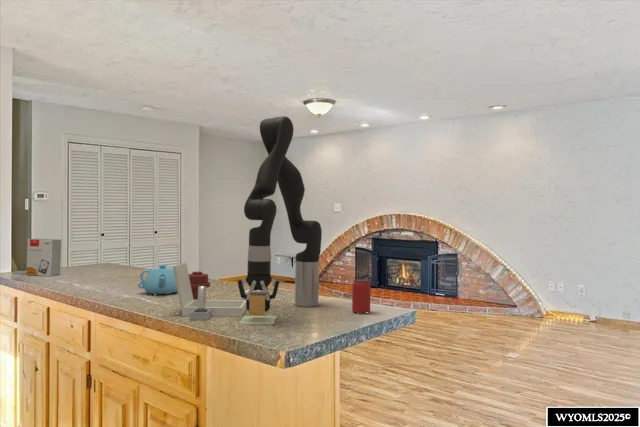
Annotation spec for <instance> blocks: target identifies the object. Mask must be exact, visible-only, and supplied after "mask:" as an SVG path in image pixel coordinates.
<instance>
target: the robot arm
mask: <svg viewBox="0 0 640 427" xmlns="http://www.w3.org/2000/svg"><path fill="white" fill-rule="evenodd" d="M259 123H260V124H259V134H260V137H261V140H262V143H263V145H264V148H265V150H266V152H267V157H266V158H265V159H264V161H263V162H262V164H261V165H260V166H259V168H258V171H257V175H256V180H255V184H254V186H253V188H252V190H251V192H250V194H249V195H248V197H247V199H246V200H245V202H244V206H243V213H244V216H245V217H246V218H247V219H248V220H250V221H262V222H261V224H260V225H259V226H256V227H255V226H254V227H252V228H250V229H249V232H248V249H247V275H246V277H245V278H243V279H241V278H239V279H238V280H237V285H238V289H239V294H240V298H241V299H242V298H244V299H246V311H248V312H249V295H250V294H252V293H253V291H256V290H260V291H263V292H264V294H266V308H265V312H266V313H268V311H269V310H270V309H271V300H273V299H276V297H277V293H278V289H279V285H280V283H281V282H280V279H273V278H272V276H271V271H272V270H271V265H272V264H271V259H272V252H271V251H272V250H271V233H272V230H273V226H274V221H275V219H276V215H277V205H276V202H275V201H274V200H273V199H271V198H267V197H270V196H273V195H274V194H275V192H276V189H277V185H278V187H279V190H280V194H281V197H282V199H283V200H282V201H283V203H284V208H285V209H286V214H287V219H288V224H289V228H290V232H291V235H292V238H293V240H294V241H295V242H296V243H298V244H301V245H302V244H306V246H305V248H304V250H303V251H299V252H298V253H296V255H295V272H294V274H295V276H294V278H295V280H294V305H295V306H297V307H306V308H307V307H308V308H309V307H310V308H311V307H318V306H319V296H320V294H319V293H320V292H319V290H320V288H319V286H320V282H319V276H320V275H319V272H320V255H321V248H322V236H323V235H322V231H323V230H322V226H321V224H320V222H319V221H317V220H306V219H305V220H304V219H303V217H302V211H301V206H302V202H303V199H304V196H305V190H306V189H305V183H304V180H303V177H302V173H301V172H300V170H299V169H298V168H297V166H295V164H294V163H293V162H292V161H290V160H289V159H288V157H287V156H286V155H287V153H288V150H289V149H290V148H289V147H290V145H291V143H292V141H293V140H292V139H293V136H294V124H293V121H292V119H290V118H289V117H288V116H286V115H285V116H283V115H281V116H275V117H270V118H265V119H262V120H261V121H260V122H259ZM246 283H247V285H248V287H249V288H248V289H249V292H248V295H247V294H245V291H246V290H245V287H244V286H245V285H246ZM271 283H272V286H273V291H272V294H270V291H269V286H270V284H271Z"/></svg>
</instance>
